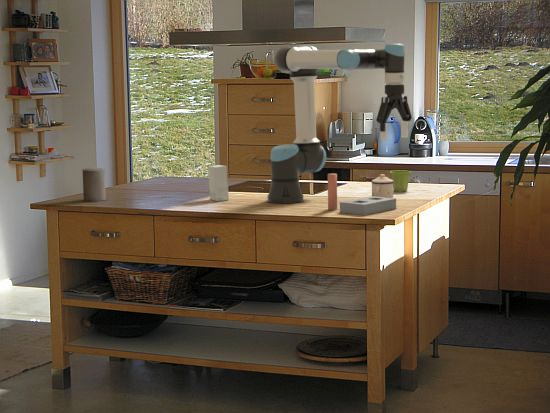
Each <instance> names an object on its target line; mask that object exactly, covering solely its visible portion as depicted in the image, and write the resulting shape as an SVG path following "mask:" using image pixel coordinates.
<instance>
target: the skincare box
mask: <svg viewBox="0 0 550 413" xmlns="http://www.w3.org/2000/svg"><path fill="white" fill-rule="evenodd" d="M207 167H208V168H207V170H208V185H209V200H212V201H215V202H221V201H222V202H223V201H229V200H230V199H229V198H230V197H229V181H228V169H227V167H228V166H227V165H223V164H222V165H221V164H217V165H209V166H207Z"/></svg>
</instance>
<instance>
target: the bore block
mask: <svg viewBox="0 0 550 413" xmlns="http://www.w3.org/2000/svg"><path fill="white" fill-rule="evenodd" d="M391 209H392V210H395V209H397V198H394V197H393V198H385V197H375V196H372V195H371V196H366V197H361V198H355V199H348V200H345V201H344V200H343V201H339V213H344V214H351V215H358V214H359V216H368V215H373V214H376V213H377V212H378V213H381V211H383V212H387V211H391ZM386 210H387V211H386Z"/></svg>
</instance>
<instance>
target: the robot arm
mask: <svg viewBox="0 0 550 413" xmlns="http://www.w3.org/2000/svg"><path fill="white" fill-rule="evenodd" d="M273 56H274V58H273V61H274V65H275V67H276V69H277V70H278V71H279V72H281V73H284V74H289V79H290V80H292V82H293V88H294V89H293V90H294V91H293V92H294V93H293V94H294V95H293V96H294V114H295V134H296V136H295V139H294V141H293V142H292V143H291V144H290V143H287V144H281V145H276V146H274V147H272V149H271V150H270V157H269V159H270V178H271V183H270V186H269V190H268V191H269V192H268V194H267V202H268V203H272V204H295V203H301V202H303V201H304V194H303V192H302V188H301V185H300V176H299V175H304V174H313V173H316V172H320V171H321V170H322V169H323V168H324V166H325V164H326V162H327V152H326V149H325V148H324V147H323V146H322V145H321V140H320V139H318V137H317V123H316V122H317V120H316V100H315V98H316V97H315V80H316V79H317V78H318V72H319V71H320V70H349V71H350V70H351V71H353V70H375V69H376V70H379V69H382V70H383V69H384V84H385V85H384V94H385V95H386V96H382V97H381V99H380V100H381V102H380V106H379V110H378V113H377V117H376V122H377V123H378V124H379V130H380V140H381V141H388V122H387V121H388V119H389V117H390V115H391V113H392V111H393V110H394V109H396V110H397V112H398V114H399V116H400V118H401V121H400V138H402V139H403V138H404V139H405V138H406V139H407V138H408V137H409V122H411V120H412V119H413V116H412V112H411V109H410V106H409V102H408V96H407V95H404V94H405V85H404V83H405V57H406V54H405V46H404V44H403V43H386V44H385V45H384V49H383V48H381V49H374V48H373V49H367V48H366V49H350V48H347V49H317V47H316V46H313V45H307V44H306V45H305V44H303V45H301V44H299V45H297V44H294V45H291V44H290V45H283V46H282V47H279V48H278V49H277V50H276V52H275V54H274V55H273Z"/></svg>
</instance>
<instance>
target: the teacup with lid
mask: <svg viewBox="0 0 550 413" xmlns="http://www.w3.org/2000/svg"><path fill="white" fill-rule="evenodd" d="M393 183H394V182H393V180H392V178H389V177H388V176H386V175H385V174H383V173H382V174H381V173H380V174H379V176H377V177H376V178H373V179H371V196H375V197H385V198H394V190H393Z"/></svg>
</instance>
